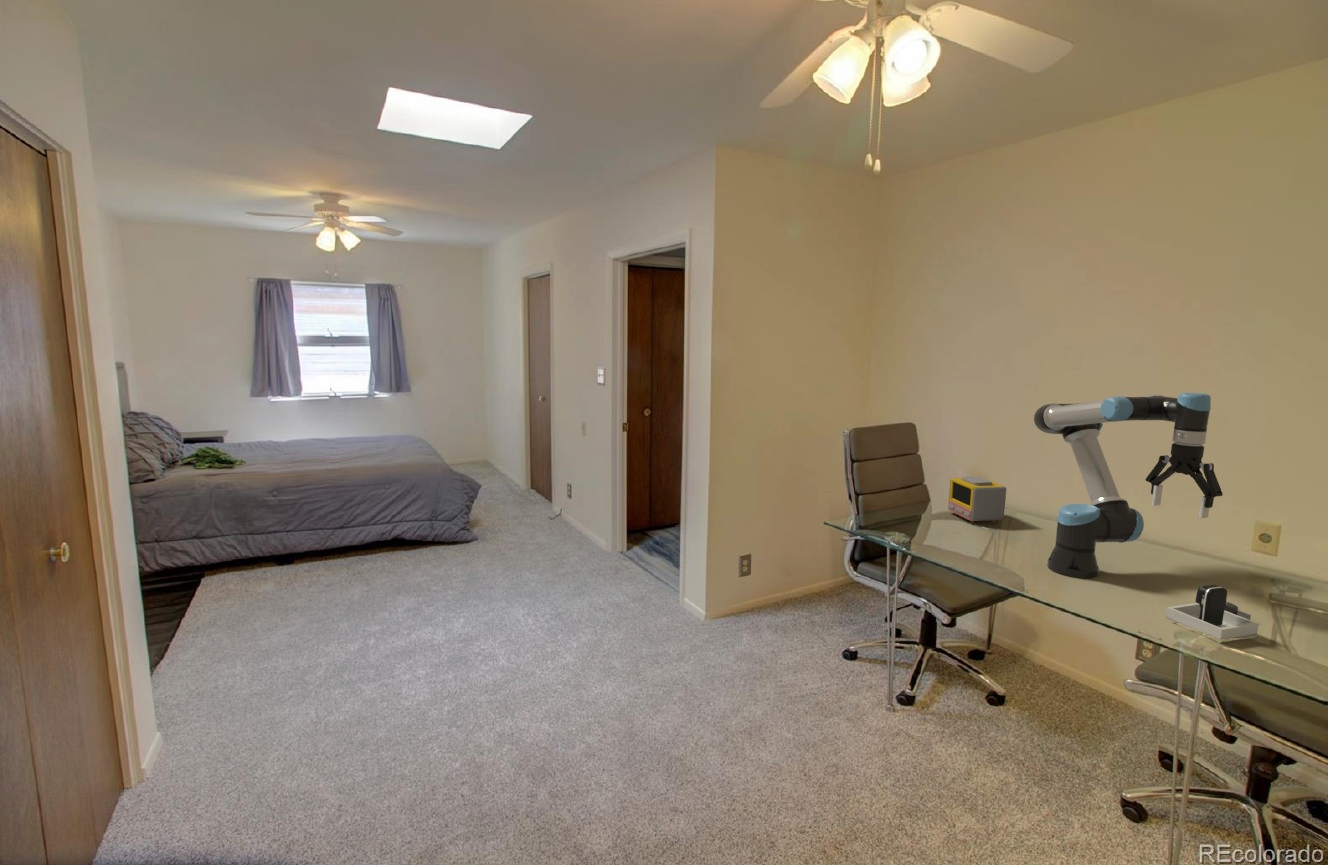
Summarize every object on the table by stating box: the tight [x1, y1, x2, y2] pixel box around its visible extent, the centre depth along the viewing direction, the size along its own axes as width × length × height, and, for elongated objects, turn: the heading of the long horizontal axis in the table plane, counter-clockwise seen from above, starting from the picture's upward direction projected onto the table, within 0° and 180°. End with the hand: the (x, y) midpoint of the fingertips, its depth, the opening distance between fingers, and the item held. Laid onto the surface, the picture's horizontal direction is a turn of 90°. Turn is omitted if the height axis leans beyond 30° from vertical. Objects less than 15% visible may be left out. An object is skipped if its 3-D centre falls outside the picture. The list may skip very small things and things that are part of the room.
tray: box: [1164, 602, 1260, 640], centre depth 170 cm, size 14×14×4 cm
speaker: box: [1225, 601, 1252, 620], centre depth 177 cm, size 10×8×4 cm
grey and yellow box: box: [947, 475, 1007, 524], centre depth 272 cm, size 20×16×18 cm
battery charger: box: [1195, 584, 1228, 626], centre depth 170 cm, size 7×4×11 cm, turn 103°
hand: (1178, 511), depth 185 cm, fingers open, 13 cm apart
